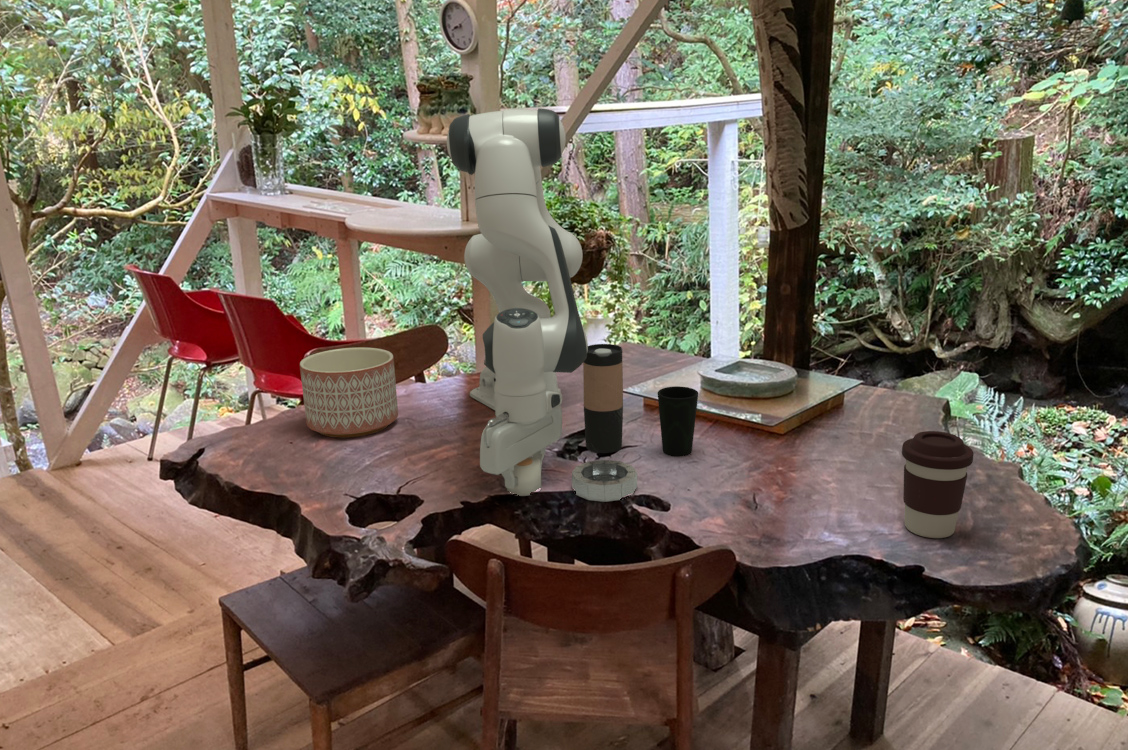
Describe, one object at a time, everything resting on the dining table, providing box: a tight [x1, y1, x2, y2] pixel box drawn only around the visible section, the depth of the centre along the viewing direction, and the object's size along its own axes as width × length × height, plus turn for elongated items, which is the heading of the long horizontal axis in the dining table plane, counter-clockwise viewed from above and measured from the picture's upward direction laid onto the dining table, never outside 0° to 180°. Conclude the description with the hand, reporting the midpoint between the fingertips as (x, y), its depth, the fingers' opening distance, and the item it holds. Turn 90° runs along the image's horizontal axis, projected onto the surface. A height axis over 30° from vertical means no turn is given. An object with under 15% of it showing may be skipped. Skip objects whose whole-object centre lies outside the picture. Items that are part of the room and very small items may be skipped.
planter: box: [299, 346, 399, 439], centre depth 186 cm, size 19×19×15 cm
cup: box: [657, 385, 699, 458], centre depth 167 cm, size 8×8×12 cm
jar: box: [506, 455, 542, 497], centre depth 153 cm, size 6×6×5 cm
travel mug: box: [582, 343, 624, 454], centre depth 170 cm, size 8×8×20 cm
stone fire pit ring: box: [571, 459, 638, 503], centre depth 153 cm, size 11×11×3 cm
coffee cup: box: [901, 430, 975, 539], centre depth 134 cm, size 10×10×15 cm
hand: (523, 479), depth 154 cm, fingers closed on jar, 6 cm apart
